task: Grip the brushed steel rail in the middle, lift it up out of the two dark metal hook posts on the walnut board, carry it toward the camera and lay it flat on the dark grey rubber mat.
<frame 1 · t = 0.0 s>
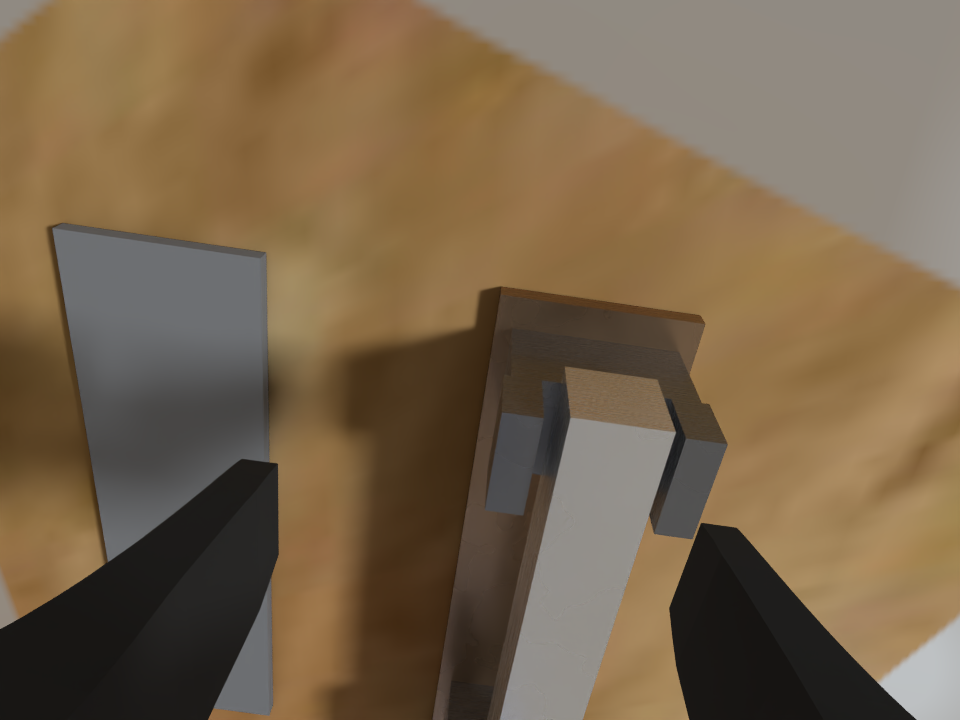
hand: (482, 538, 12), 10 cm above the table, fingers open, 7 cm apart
mat: (188, 512, 25), on the table
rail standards: (539, 560, 25), on the table
rail: (542, 639, 22), point 3 cm above the table, touching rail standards
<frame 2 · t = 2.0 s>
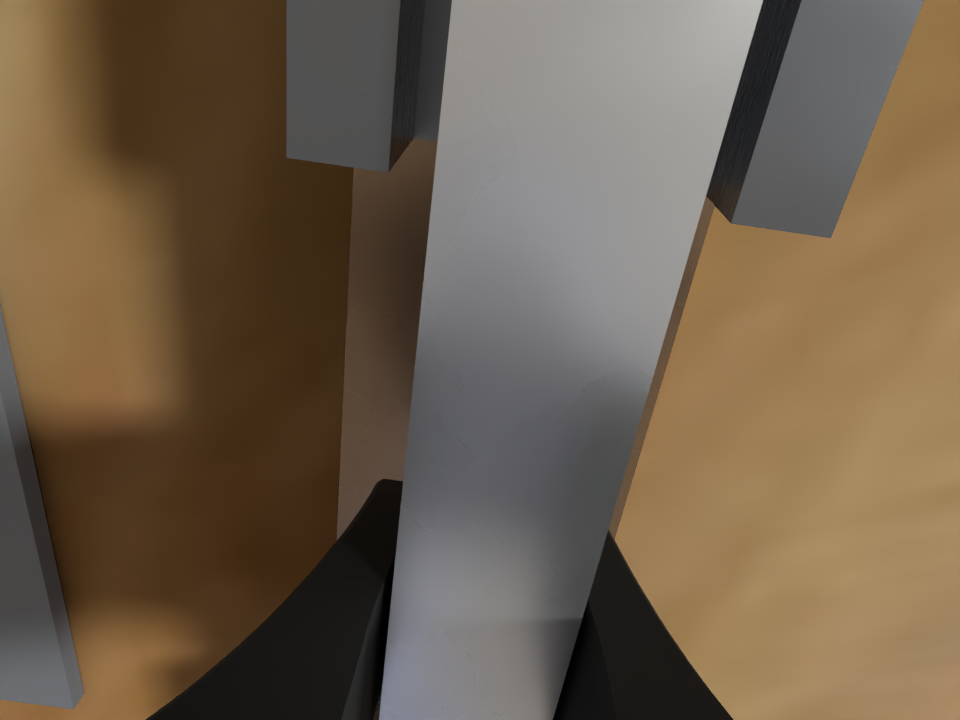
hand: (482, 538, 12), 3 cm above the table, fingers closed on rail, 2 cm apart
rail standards: (489, 435, 14), on the table
rail: (481, 555, 11), point 3 cm above the table, touching gripper, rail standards
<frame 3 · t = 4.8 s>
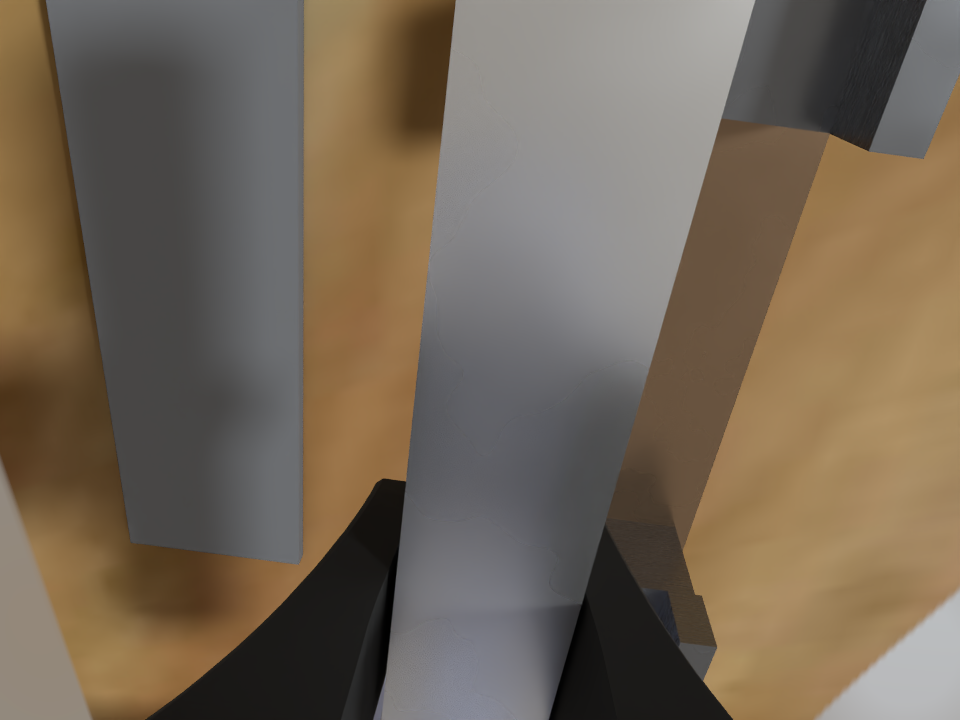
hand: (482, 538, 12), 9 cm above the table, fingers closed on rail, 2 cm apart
mat: (200, 272, 20), on the table
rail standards: (643, 332, 20), on the table
rail: (482, 546, 12), point 10 cm above the table, touching gripper
when the fingers open (2 cm above the table, at t = 7.7 s): rail stays where it is, resting on mat.
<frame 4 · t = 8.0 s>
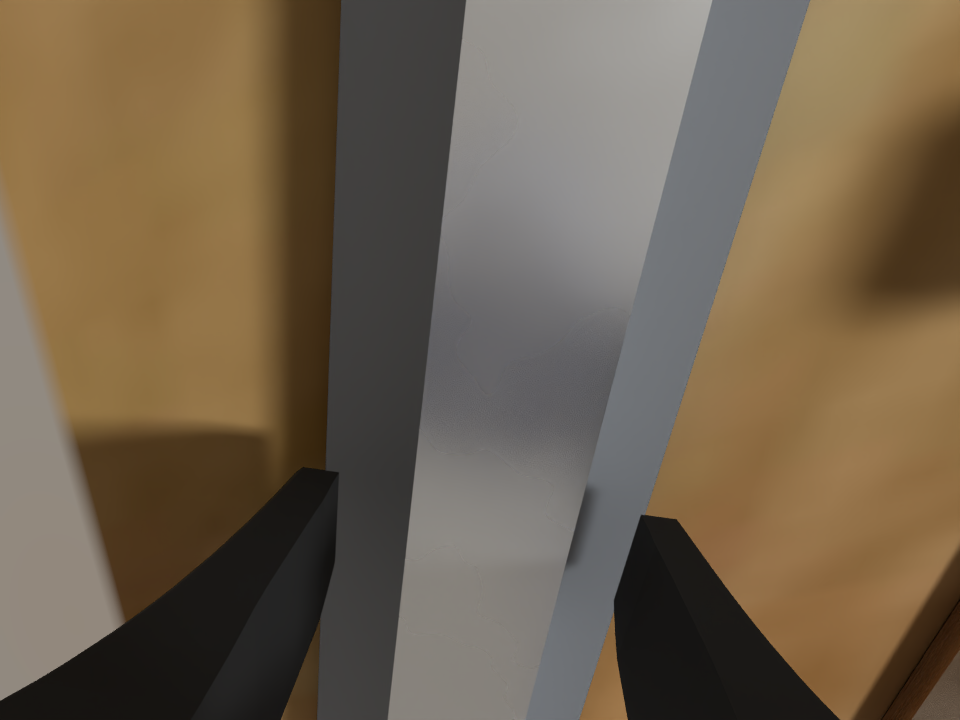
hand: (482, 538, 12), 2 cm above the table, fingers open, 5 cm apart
mat: (486, 476, 13), on the table
rail: (485, 495, 13), resting on mat
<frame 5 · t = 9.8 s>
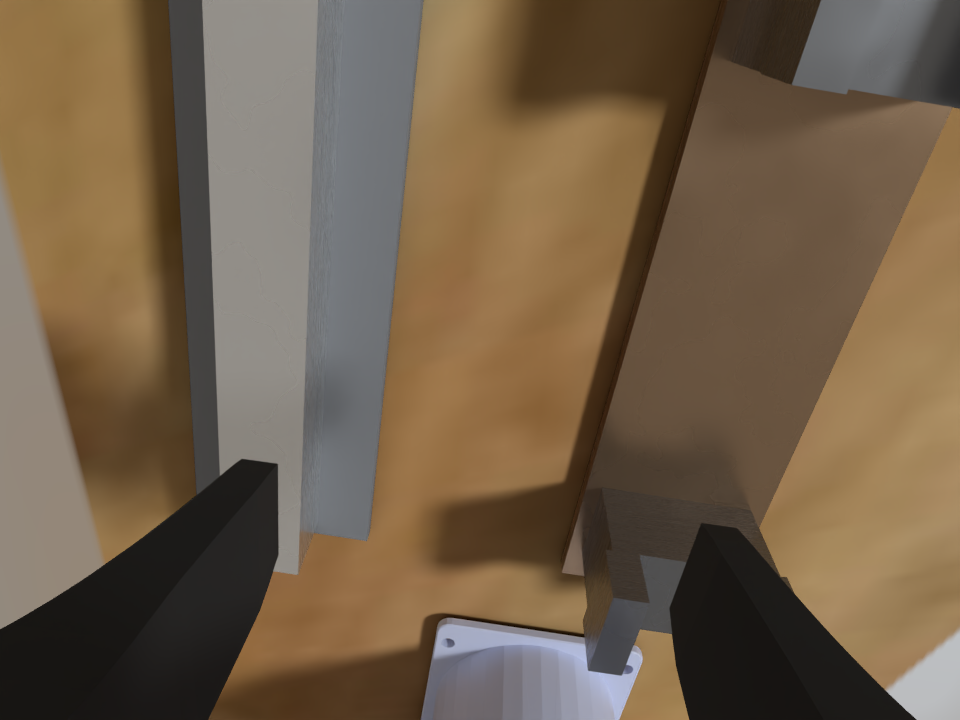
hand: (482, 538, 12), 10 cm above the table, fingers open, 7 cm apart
mat: (293, 241, 20), on the table
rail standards: (737, 313, 20), on the table
rail: (288, 248, 19), resting on mat
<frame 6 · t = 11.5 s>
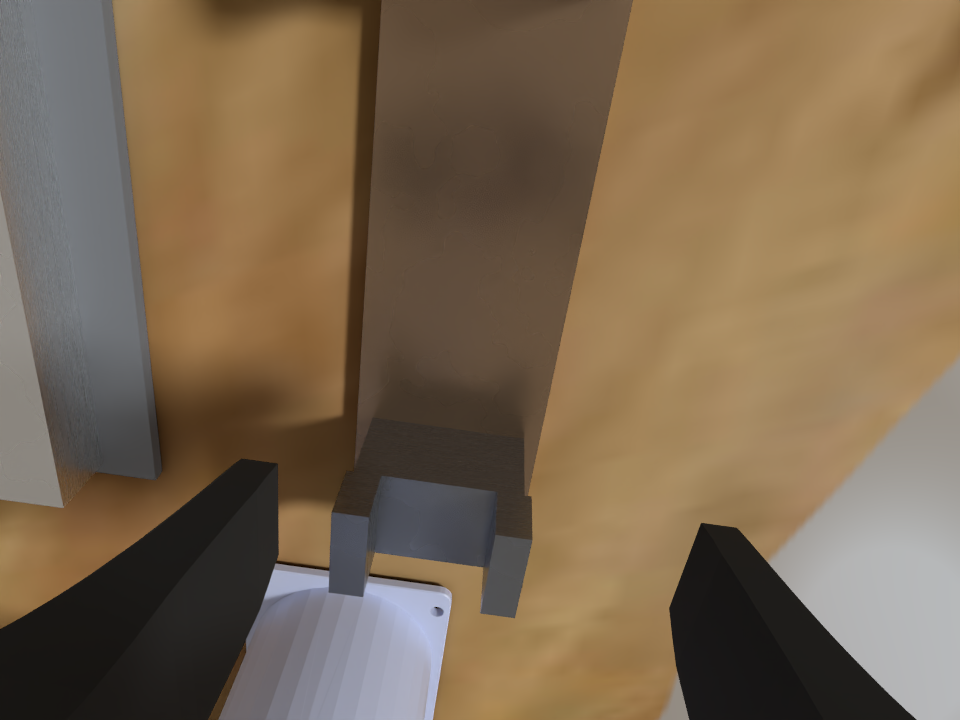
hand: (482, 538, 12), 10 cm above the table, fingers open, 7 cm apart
mat: (26, 165, 20), on the table
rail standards: (475, 231, 20), on the table
rail: (15, 171, 19), resting on mat
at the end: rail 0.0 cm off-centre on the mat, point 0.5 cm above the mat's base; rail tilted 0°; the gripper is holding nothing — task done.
